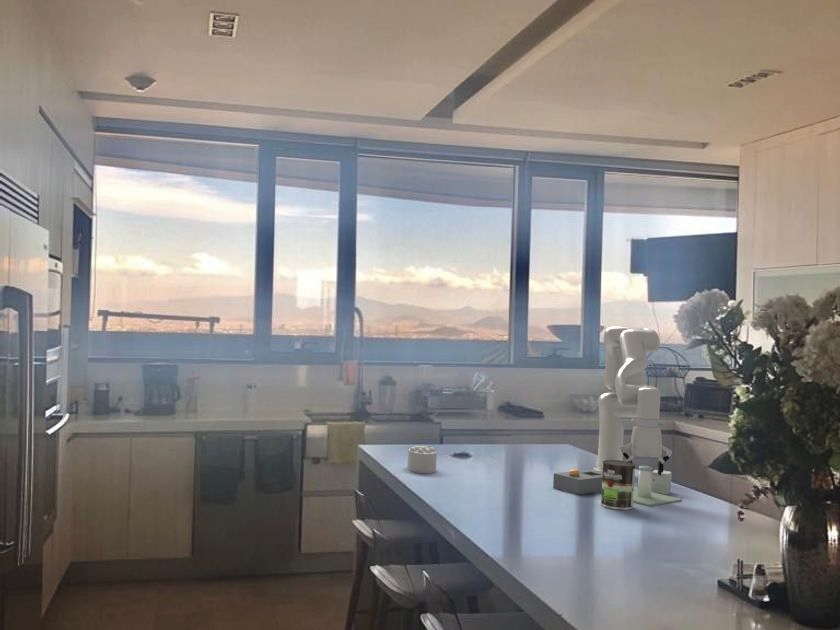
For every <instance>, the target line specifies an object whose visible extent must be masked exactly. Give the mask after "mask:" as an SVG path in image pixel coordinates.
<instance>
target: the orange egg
mask: <svg viewBox="0 0 840 630" xmlns="http://www.w3.org/2000/svg"><path fill="white" fill-rule="evenodd" d="M580 471H581V470H580V469H575V468H571V469H569V470H568V472H569V474H570V475H571V476H573V477H577V476H578V475H580Z"/></svg>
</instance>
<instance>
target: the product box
mask: <svg viewBox="0 0 840 630" xmlns="http://www.w3.org/2000/svg"><path fill="white" fill-rule="evenodd" d="M672 473H673V471H669V470H663V473H661V475H659V474H658V469H654V470H652V485H651V492H654V493H658V494H662V495H669V494H670V493H671V489H672V476H673V475H672Z"/></svg>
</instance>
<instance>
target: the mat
mask: <svg viewBox="0 0 840 630" xmlns="http://www.w3.org/2000/svg"><path fill="white" fill-rule="evenodd" d="M678 502H683V499H682V498H678V497H674V496H670V495H667V494H661V493H654V492H651V497H650V498H643V497H639V496H638V488H636V489H635V488H634V493H633V504H634V503H635V504H638V505H642V506H645V507H653V506H659V505H666V504H672V503H678Z"/></svg>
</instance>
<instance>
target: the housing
mask: <svg viewBox="0 0 840 630" xmlns="http://www.w3.org/2000/svg"><path fill="white" fill-rule="evenodd" d="M602 477H603V473H600V472H596V471H594V470H591V469H581V470H580V475H578V476H577V477H573V476H571V475H570V474H569V471H564V472H556V473H555V472H554V473H553V483H552V484H553V485H552V488H554V489H557V490H561V491H565V492H569V493H572V494H576V495H583V494H584V495H585V494H591V493H600V492H602Z"/></svg>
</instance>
